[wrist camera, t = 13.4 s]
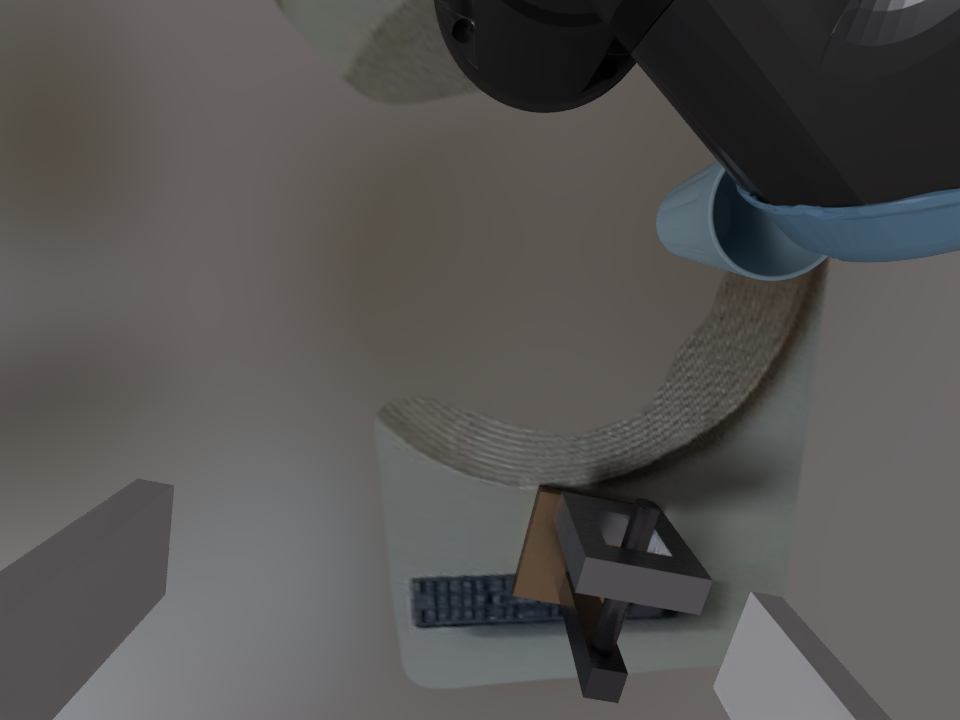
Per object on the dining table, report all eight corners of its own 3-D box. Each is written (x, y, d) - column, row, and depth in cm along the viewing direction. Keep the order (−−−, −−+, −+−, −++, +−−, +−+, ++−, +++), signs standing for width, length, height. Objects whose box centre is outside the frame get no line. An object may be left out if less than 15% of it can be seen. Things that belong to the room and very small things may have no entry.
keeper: (551, 439, 38) (579, 507, 28) (668, 462, 39) (738, 537, 29) (512, 587, 41) (524, 697, 31) (621, 607, 42) (669, 721, 32)
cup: (727, 145, 34) (837, 99, 23) (757, 246, 35) (872, 245, 25) (627, 190, 34) (691, 165, 24) (661, 288, 36) (734, 303, 26)
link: (561, 491, 36) (586, 557, 28) (661, 510, 37) (713, 580, 29) (553, 520, 37) (575, 592, 29) (652, 538, 37) (700, 614, 29)
